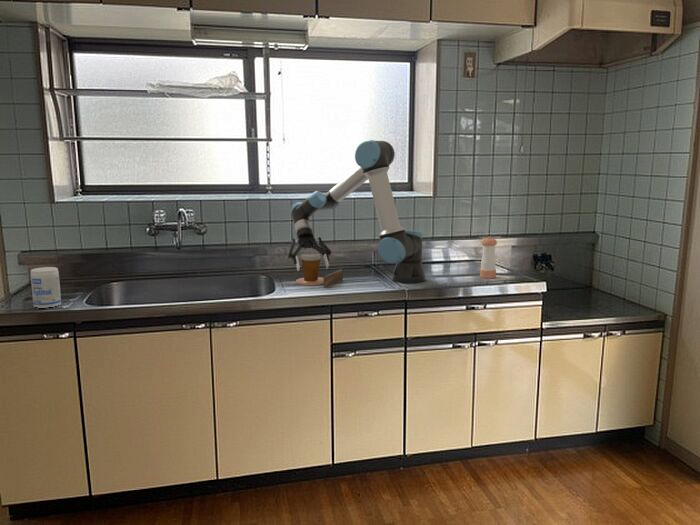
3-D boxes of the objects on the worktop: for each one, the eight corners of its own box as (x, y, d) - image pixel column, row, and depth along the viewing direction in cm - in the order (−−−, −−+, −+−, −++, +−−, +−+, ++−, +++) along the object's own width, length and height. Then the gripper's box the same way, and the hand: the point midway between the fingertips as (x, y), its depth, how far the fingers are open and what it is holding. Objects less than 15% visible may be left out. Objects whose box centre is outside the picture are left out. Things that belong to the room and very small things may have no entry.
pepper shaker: (486, 279, 256) (488, 238, 253) (476, 276, 263) (478, 236, 259) (498, 277, 259) (500, 237, 255) (489, 274, 266) (490, 235, 262)
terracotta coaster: (334, 279, 256) (334, 278, 256) (318, 286, 243) (318, 285, 243) (306, 277, 263) (306, 275, 263) (289, 283, 249) (289, 282, 249)
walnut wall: (342, 280, 255) (342, 269, 254) (326, 287, 241) (326, 276, 240) (340, 280, 256) (339, 269, 255) (323, 287, 241) (323, 276, 240)
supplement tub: (32, 310, 208) (27, 272, 205) (35, 304, 216) (30, 267, 213) (61, 307, 212) (57, 270, 209) (62, 301, 220) (58, 265, 217)
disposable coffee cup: (322, 277, 258) (322, 252, 255) (319, 282, 248) (319, 256, 246) (302, 277, 258) (302, 252, 256) (298, 282, 249) (298, 255, 247)
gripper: (327, 234, 268) (337, 270, 257) (277, 237, 259) (285, 274, 248) (330, 225, 262) (341, 261, 251) (279, 227, 254) (287, 265, 242)
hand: (313, 268), depth 249 cm, fingers open, 13 cm apart
